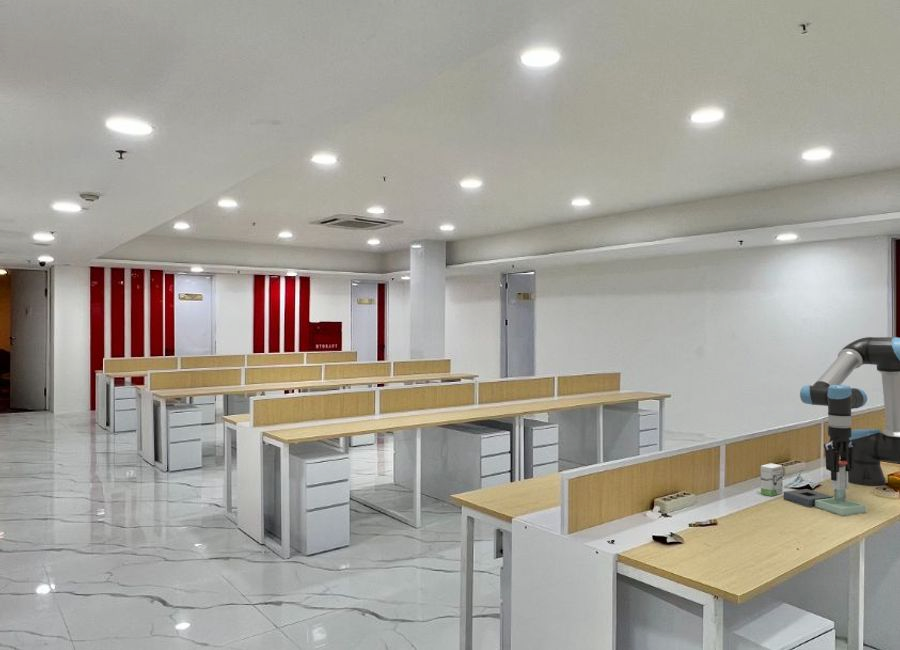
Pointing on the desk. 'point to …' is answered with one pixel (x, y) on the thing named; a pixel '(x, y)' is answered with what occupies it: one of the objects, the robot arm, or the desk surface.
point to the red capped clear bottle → (841, 482)
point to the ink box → (771, 479)
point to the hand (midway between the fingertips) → (839, 488)
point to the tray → (840, 507)
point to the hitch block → (804, 497)
